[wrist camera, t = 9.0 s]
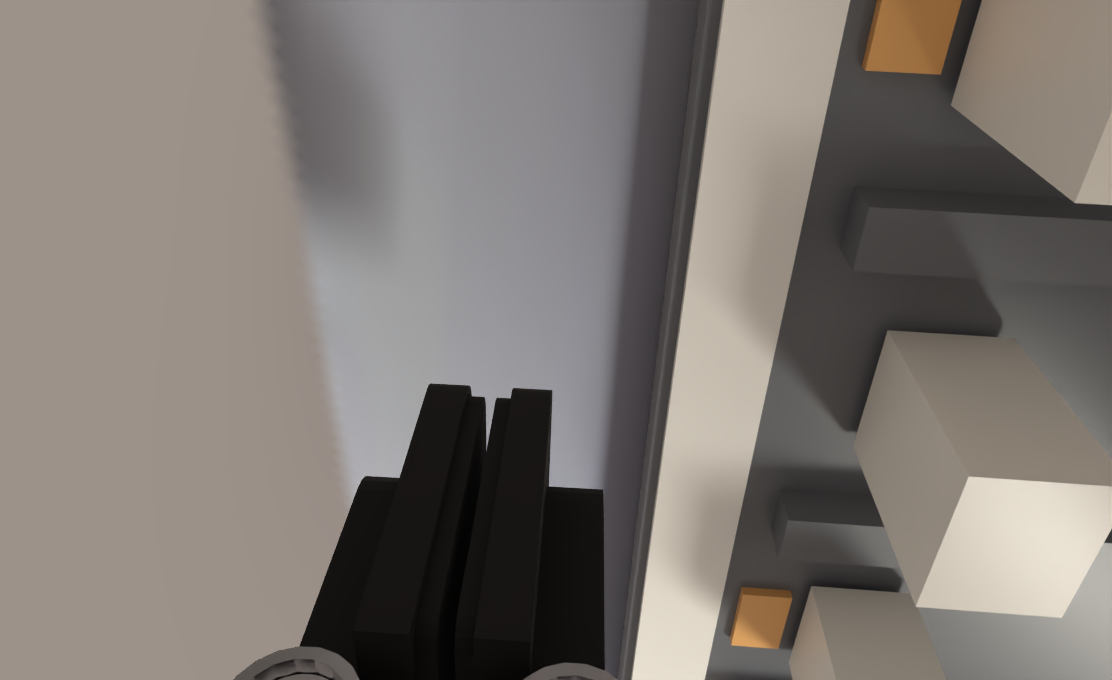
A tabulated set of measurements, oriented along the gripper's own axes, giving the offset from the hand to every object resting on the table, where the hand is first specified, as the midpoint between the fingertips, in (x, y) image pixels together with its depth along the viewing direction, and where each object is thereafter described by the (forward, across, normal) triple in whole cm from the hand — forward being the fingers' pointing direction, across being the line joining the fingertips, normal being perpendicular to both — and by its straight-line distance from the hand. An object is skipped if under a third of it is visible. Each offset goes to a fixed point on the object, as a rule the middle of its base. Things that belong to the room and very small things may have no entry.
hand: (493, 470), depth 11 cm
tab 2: (+3, -7, 0) cm, 8 cm away
